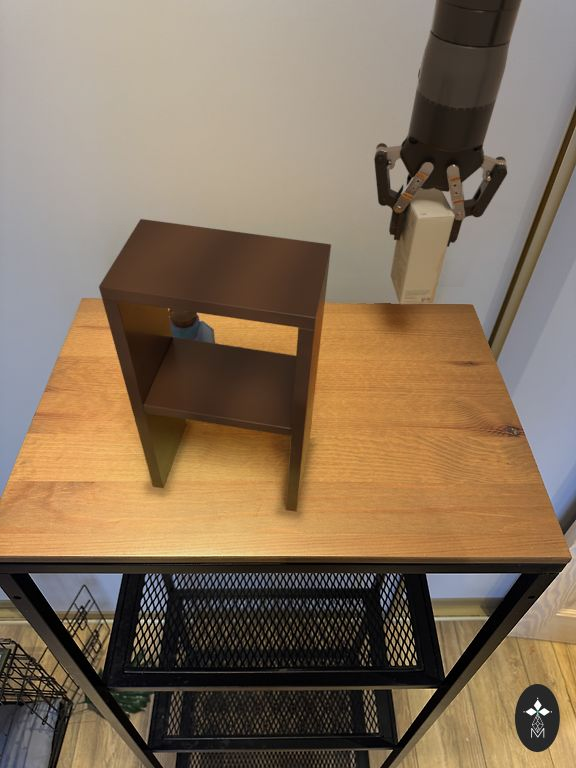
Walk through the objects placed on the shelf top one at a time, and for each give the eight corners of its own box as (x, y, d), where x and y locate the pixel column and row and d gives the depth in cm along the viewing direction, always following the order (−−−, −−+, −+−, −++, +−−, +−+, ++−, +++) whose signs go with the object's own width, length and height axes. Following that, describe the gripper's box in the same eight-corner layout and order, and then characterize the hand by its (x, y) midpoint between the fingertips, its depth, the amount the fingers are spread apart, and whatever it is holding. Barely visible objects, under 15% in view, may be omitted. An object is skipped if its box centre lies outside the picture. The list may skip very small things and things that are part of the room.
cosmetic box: (433, 304, 70) (457, 218, 61) (397, 305, 70) (417, 219, 61) (421, 272, 75) (442, 187, 65) (387, 273, 74) (404, 187, 65)
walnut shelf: (309, 444, 67) (331, 243, 46) (296, 512, 61) (315, 318, 40) (177, 422, 69) (140, 218, 47) (152, 486, 63) (98, 286, 42)
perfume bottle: (168, 365, 75) (156, 294, 65) (216, 363, 75) (210, 292, 66) (166, 402, 70) (152, 332, 61) (217, 400, 71) (210, 330, 62)
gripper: (378, 95, 52) (356, 250, 65) (539, 111, 51) (485, 267, 64) (384, 64, 57) (363, 214, 70) (531, 79, 56) (482, 229, 69)
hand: (421, 239), depth 67 cm, fingers closed on cosmetic box, 5 cm apart
